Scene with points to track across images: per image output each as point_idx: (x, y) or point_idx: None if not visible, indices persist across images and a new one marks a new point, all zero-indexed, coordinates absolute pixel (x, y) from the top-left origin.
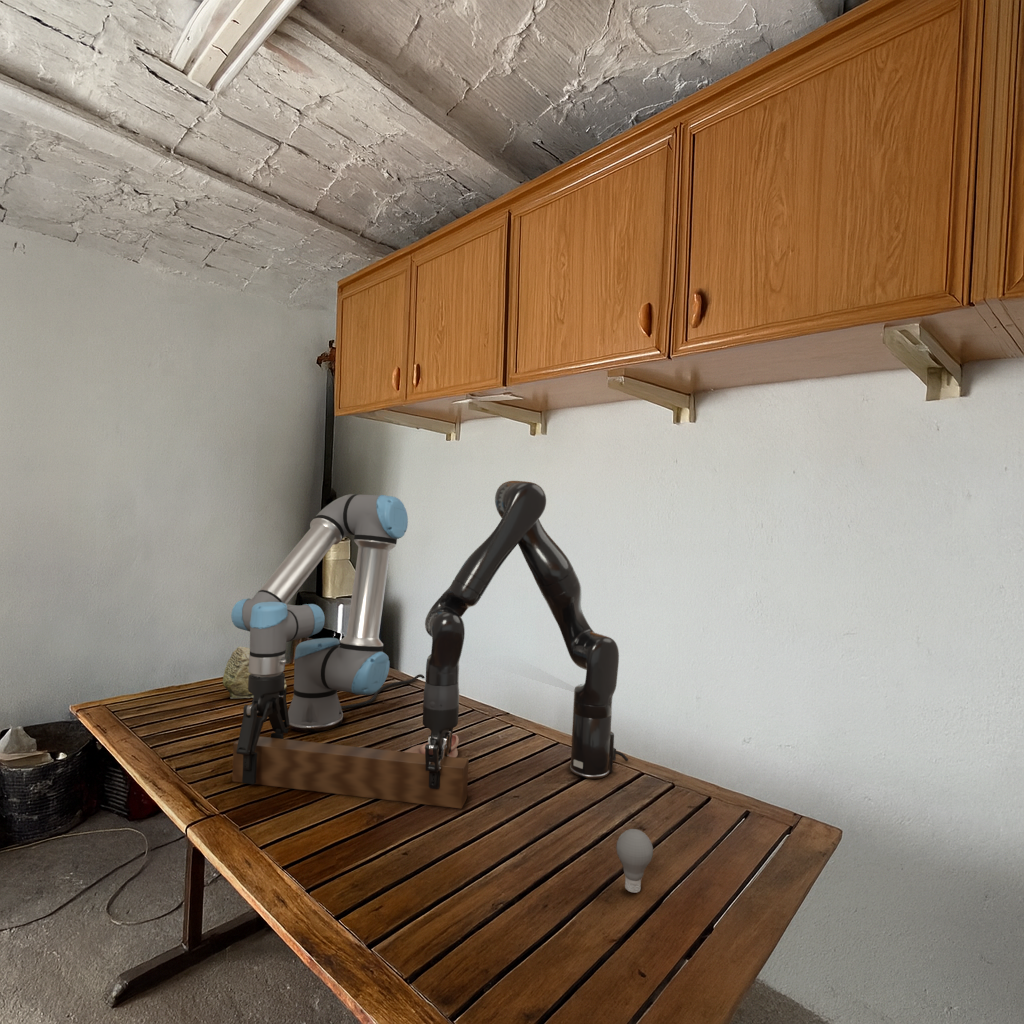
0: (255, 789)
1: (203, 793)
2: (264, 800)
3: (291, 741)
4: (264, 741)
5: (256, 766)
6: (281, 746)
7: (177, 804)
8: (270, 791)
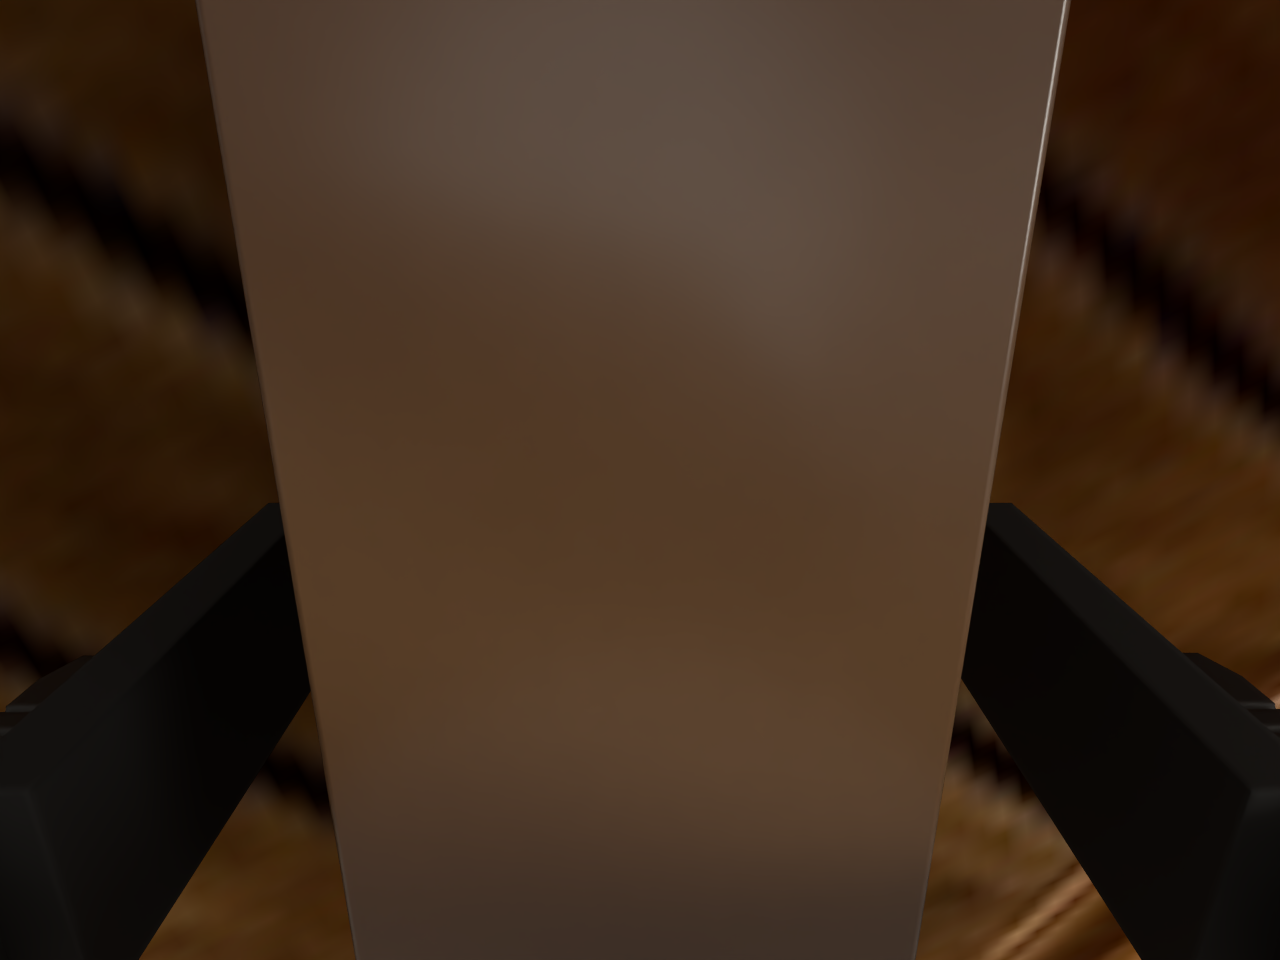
0: None
1: (1037, 878)
2: (1168, 234)
3: (390, 282)
4: (627, 940)
5: (1077, 614)
6: (878, 386)
7: None
8: None
